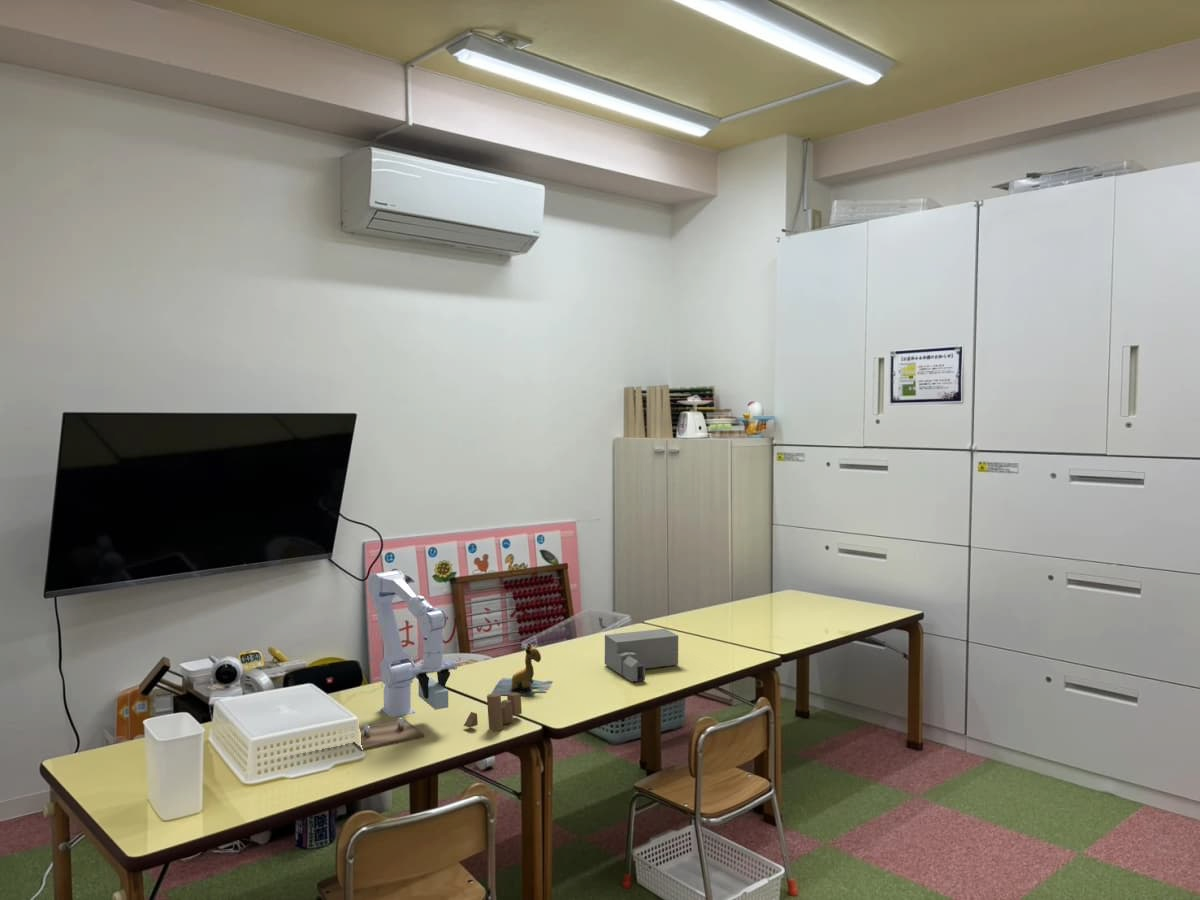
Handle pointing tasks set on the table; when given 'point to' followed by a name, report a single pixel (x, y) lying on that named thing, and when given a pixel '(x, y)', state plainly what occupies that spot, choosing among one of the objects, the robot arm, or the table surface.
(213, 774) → the table surface
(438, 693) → the blue-grey rectangular block
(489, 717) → the wooden block set
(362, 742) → the peg plate
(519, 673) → the stuffed giraffe
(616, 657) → the gray box with nozzle
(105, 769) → the table surface
